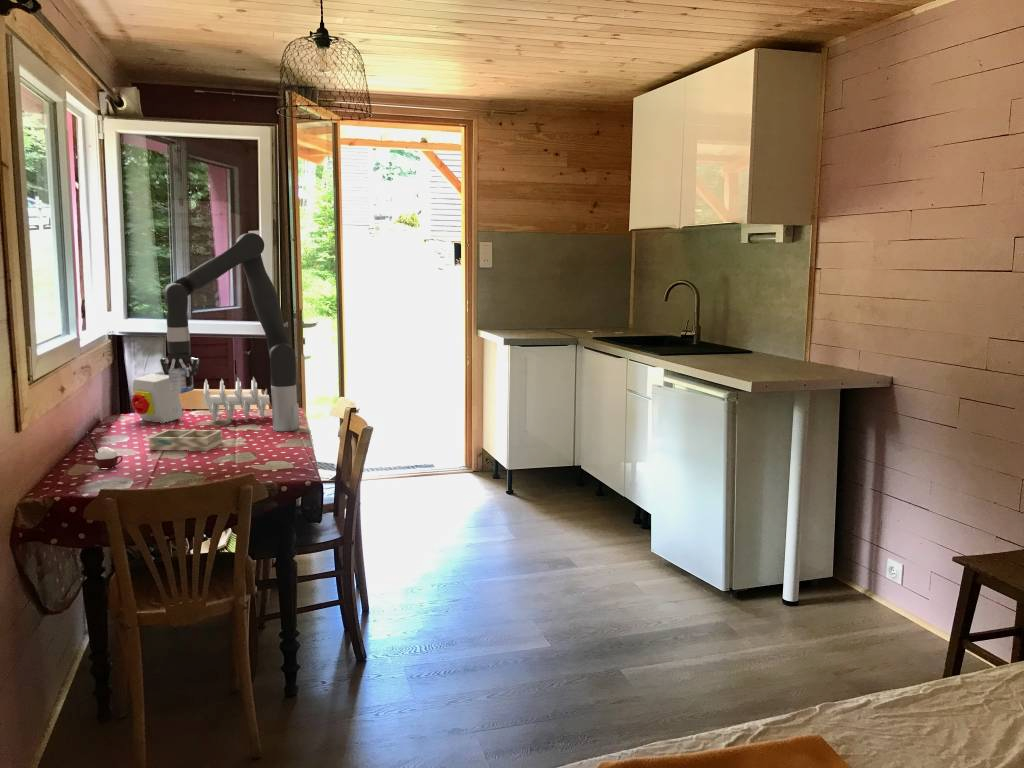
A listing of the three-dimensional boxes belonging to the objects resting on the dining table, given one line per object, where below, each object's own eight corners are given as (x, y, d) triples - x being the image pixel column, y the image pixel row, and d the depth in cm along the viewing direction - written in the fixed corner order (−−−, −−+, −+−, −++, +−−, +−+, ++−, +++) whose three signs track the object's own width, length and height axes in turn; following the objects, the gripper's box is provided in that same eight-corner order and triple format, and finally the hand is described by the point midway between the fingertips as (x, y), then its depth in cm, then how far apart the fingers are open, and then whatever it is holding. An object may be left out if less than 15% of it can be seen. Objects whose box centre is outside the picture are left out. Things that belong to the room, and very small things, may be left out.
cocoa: (123, 466, 255) (123, 428, 254) (119, 470, 249) (118, 432, 248) (91, 466, 253) (90, 429, 252) (85, 471, 247) (84, 432, 246)
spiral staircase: (269, 430, 326) (203, 431, 318) (268, 405, 340) (205, 405, 332) (270, 393, 316) (202, 393, 308) (269, 369, 330) (204, 368, 322)
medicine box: (180, 393, 285) (179, 369, 284) (169, 393, 286) (168, 369, 285) (194, 390, 293) (192, 366, 291) (183, 389, 294) (181, 366, 292)
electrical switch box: (129, 427, 323) (118, 379, 318) (161, 416, 335) (152, 370, 330) (152, 431, 315) (141, 382, 310) (184, 419, 328) (174, 372, 322)
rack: (222, 442, 286) (221, 430, 286) (206, 451, 273) (205, 438, 272) (167, 442, 287) (167, 429, 287) (149, 450, 274) (148, 437, 273)
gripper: (202, 338, 290) (205, 385, 292) (164, 338, 291) (167, 384, 293) (193, 340, 282) (196, 388, 285) (153, 340, 283) (157, 388, 286)
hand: (181, 386), depth 289 cm, fingers closed on medicine box, 4 cm apart
